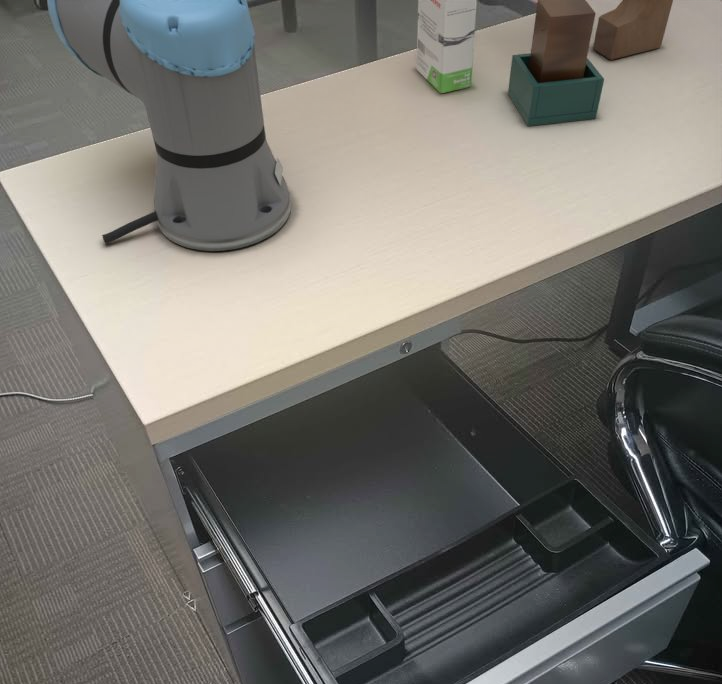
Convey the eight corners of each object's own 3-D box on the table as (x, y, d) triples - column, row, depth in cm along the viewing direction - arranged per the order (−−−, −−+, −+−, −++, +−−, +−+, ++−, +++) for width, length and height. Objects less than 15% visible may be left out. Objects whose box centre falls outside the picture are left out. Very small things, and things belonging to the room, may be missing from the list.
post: (536, 110, 98) (550, 16, 90) (525, 90, 102) (537, -2, 93) (577, 106, 98) (596, 12, 90) (565, 86, 102) (581, -6, 93)
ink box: (472, 88, 105) (480, -9, 95) (439, 94, 104) (444, -2, 94) (446, 62, 110) (451, -32, 100) (414, 69, 109) (416, -26, 99)
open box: (527, 126, 98) (533, 86, 94) (507, 93, 103) (512, 54, 99) (595, 118, 98) (604, 78, 94) (572, 86, 104) (579, 47, 100)
